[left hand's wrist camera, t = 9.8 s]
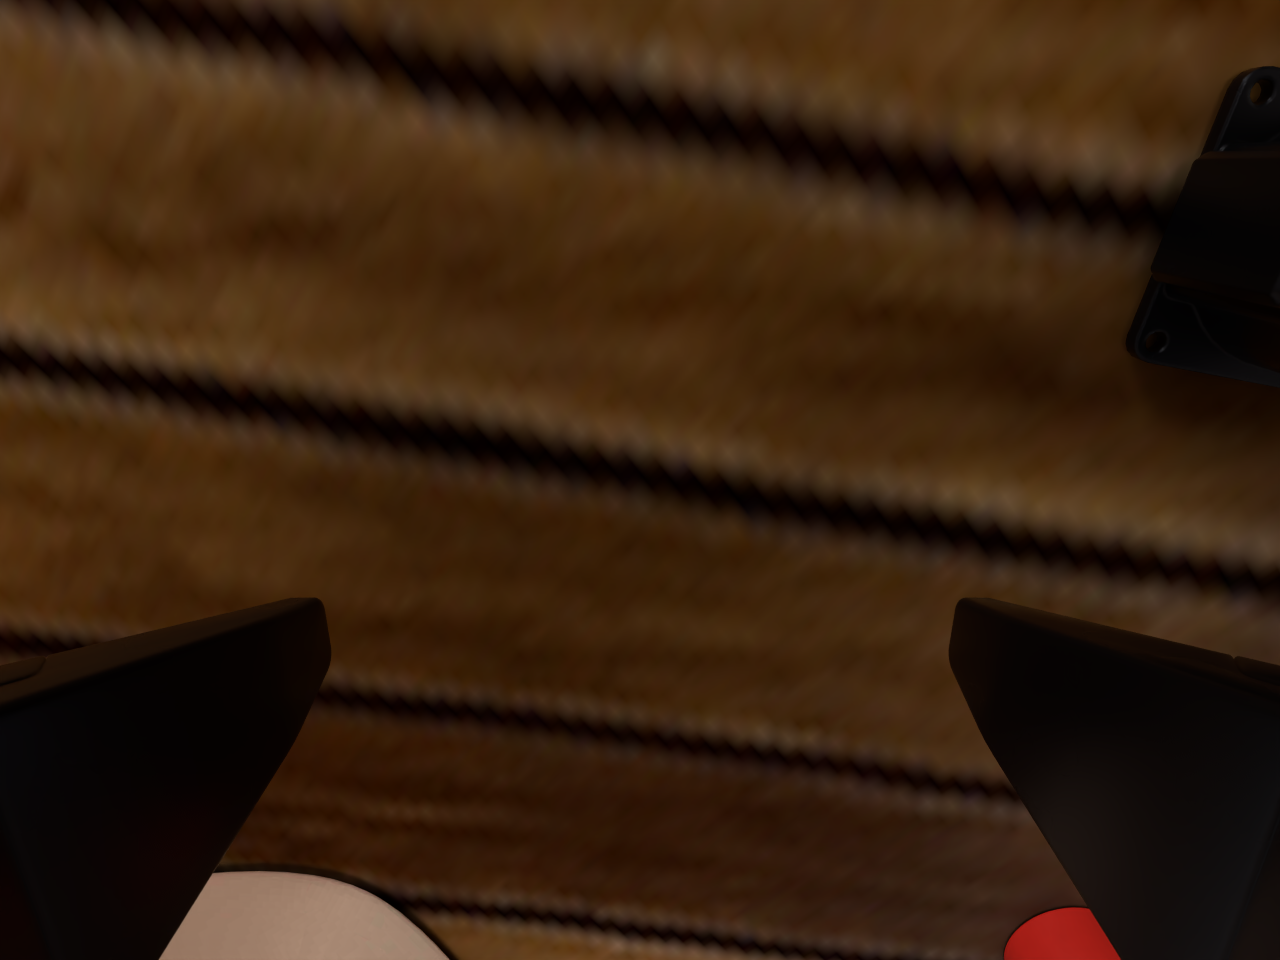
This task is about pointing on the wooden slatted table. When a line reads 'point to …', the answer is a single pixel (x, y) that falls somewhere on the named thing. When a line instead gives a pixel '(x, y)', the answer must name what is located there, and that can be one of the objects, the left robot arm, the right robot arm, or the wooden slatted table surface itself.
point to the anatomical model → (294, 922)
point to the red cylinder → (1060, 938)
